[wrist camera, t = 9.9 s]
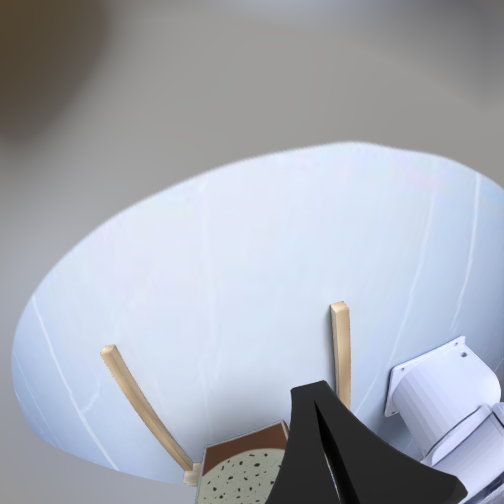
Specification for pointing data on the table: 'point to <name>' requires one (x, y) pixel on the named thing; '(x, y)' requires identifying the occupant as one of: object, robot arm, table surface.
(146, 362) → the table surface
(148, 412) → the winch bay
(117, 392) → the table surface
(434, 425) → the robot arm
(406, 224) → the table surface
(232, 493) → the food container
